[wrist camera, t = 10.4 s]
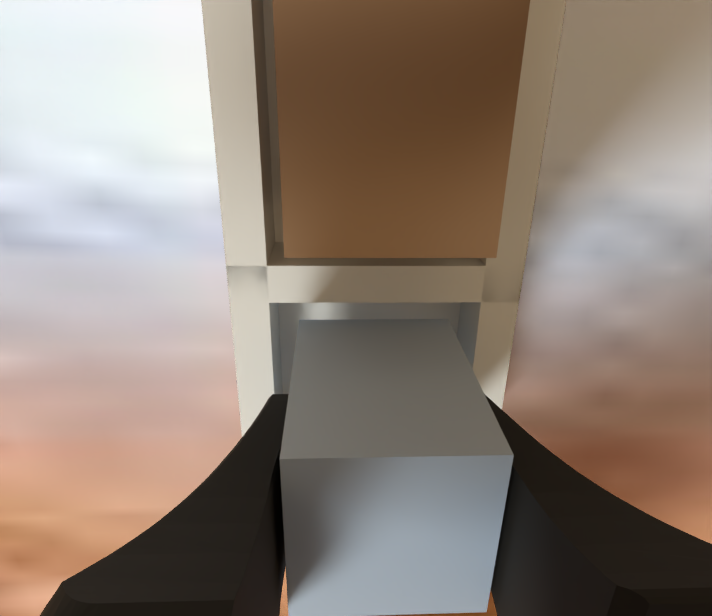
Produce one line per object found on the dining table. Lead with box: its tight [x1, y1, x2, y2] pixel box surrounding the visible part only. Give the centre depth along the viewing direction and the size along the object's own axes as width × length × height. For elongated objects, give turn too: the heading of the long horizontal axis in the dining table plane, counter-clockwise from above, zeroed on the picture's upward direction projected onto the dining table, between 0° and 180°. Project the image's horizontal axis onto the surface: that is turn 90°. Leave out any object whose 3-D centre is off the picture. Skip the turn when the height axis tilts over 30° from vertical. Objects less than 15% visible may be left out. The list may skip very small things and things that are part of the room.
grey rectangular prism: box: [280, 319, 514, 616], centre depth 12 cm, size 4×4×6 cm
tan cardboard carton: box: [272, 0, 530, 258], centre depth 11 cm, size 6×4×5 cm, turn 179°
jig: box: [201, 0, 566, 437], centre depth 14 cm, size 16×8×3 cm, turn 179°
